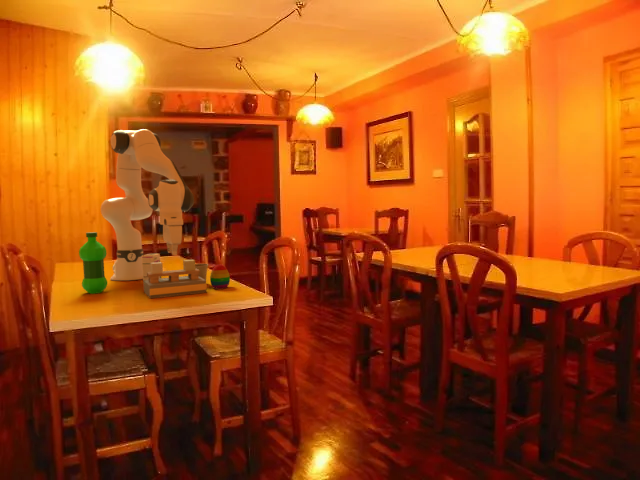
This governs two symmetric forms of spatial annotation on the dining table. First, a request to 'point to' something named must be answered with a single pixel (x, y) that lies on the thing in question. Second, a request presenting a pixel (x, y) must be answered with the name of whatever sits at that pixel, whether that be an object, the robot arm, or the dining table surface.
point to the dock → (174, 287)
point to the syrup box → (146, 263)
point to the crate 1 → (156, 267)
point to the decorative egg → (219, 277)
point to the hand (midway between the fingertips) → (172, 253)
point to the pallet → (173, 275)
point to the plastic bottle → (93, 264)
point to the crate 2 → (189, 265)
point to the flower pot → (202, 270)
